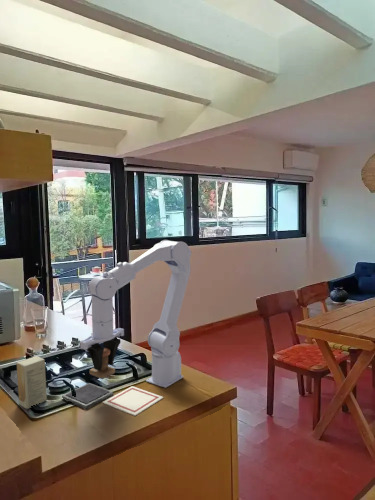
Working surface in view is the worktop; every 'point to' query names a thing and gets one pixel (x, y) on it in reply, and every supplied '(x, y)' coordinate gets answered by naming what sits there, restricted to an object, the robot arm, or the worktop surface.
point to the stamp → (103, 367)
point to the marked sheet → (133, 400)
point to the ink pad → (88, 395)
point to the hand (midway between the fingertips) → (103, 366)
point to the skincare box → (31, 381)
